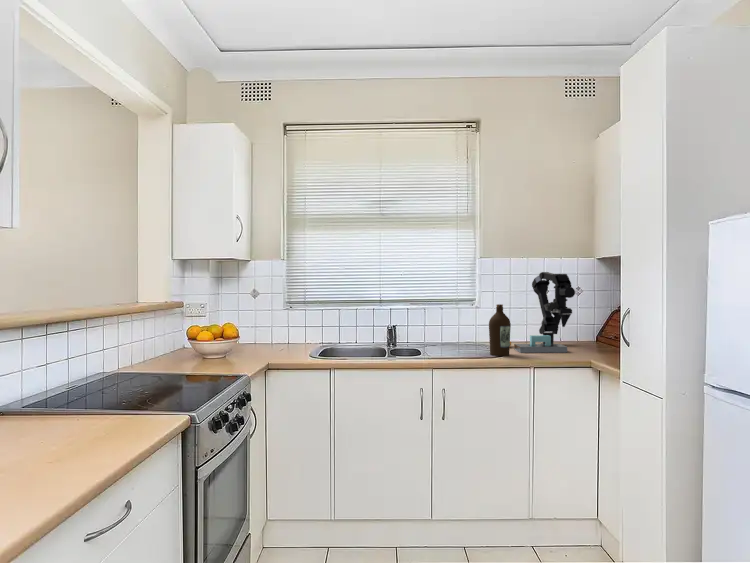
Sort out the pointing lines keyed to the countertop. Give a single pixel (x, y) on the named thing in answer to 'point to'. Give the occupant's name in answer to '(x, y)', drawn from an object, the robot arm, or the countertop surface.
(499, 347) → the olive oil
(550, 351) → the rail plate
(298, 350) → the countertop surface
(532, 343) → the clip
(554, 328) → the robot arm
